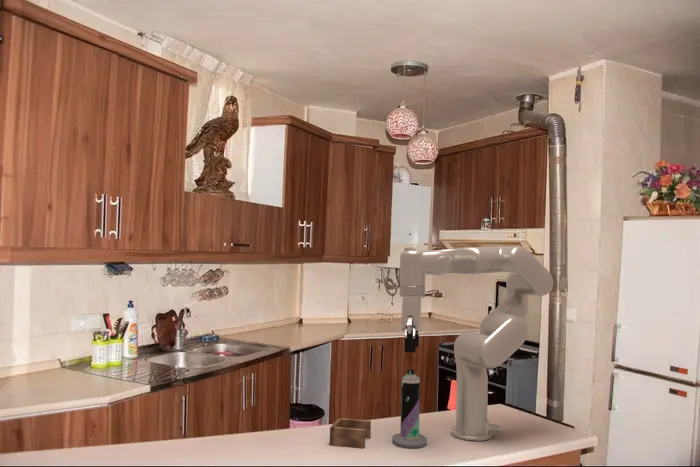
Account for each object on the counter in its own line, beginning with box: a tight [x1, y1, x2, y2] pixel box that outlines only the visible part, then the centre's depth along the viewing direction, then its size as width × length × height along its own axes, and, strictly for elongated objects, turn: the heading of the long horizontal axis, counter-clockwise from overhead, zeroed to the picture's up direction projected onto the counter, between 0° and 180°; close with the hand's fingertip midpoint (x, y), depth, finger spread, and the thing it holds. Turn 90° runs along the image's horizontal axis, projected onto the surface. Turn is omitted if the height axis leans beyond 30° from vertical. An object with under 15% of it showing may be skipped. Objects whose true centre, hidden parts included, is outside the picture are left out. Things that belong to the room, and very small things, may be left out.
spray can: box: [400, 369, 421, 441], centre depth 166 cm, size 6×6×20 cm
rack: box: [329, 417, 372, 449], centre depth 166 cm, size 10×10×5 cm
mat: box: [391, 433, 427, 450], centre depth 166 cm, size 10×10×2 cm
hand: (411, 349), depth 167 cm, fingers open, 9 cm apart
